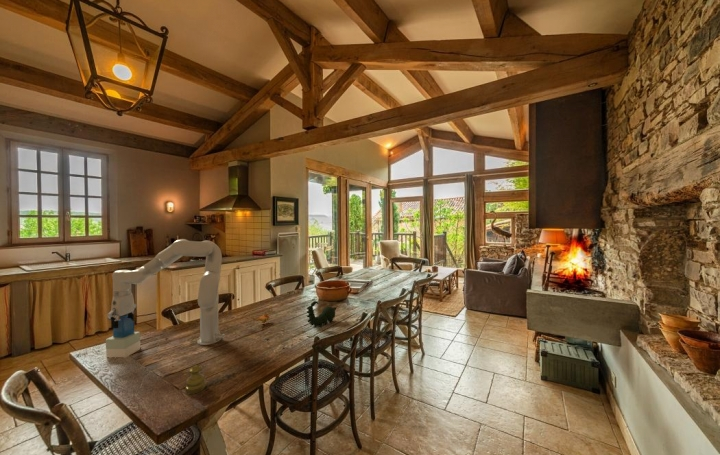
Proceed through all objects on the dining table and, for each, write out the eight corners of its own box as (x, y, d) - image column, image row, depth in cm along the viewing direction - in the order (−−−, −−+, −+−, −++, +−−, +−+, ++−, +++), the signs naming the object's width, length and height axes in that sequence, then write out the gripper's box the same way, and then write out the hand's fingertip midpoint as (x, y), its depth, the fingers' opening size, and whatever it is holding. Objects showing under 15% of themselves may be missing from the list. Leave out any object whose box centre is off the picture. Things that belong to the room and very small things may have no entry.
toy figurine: (314, 333, 182) (341, 320, 200) (312, 305, 180) (340, 294, 198) (305, 329, 188) (332, 316, 207) (303, 302, 187) (331, 292, 205)
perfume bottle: (123, 337, 147) (123, 315, 146) (113, 337, 148) (112, 314, 147) (134, 333, 153) (134, 311, 153) (124, 332, 154) (124, 311, 153)
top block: (140, 340, 155) (139, 331, 155) (125, 348, 145) (124, 339, 145) (122, 340, 155) (121, 331, 155) (105, 348, 145) (105, 339, 145)
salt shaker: (181, 392, 117) (181, 368, 116) (197, 382, 124) (197, 360, 123) (194, 396, 114) (193, 372, 114) (209, 386, 121) (209, 363, 121)
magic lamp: (248, 327, 187) (248, 311, 187) (269, 319, 202) (269, 304, 202) (254, 329, 183) (254, 313, 183) (275, 321, 199) (275, 305, 199)
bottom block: (140, 349, 155) (140, 340, 155) (125, 358, 145) (125, 348, 145) (122, 349, 155) (122, 340, 155) (106, 358, 145) (106, 348, 145)
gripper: (114, 297, 141) (115, 331, 141) (142, 289, 158) (142, 318, 158) (100, 297, 141) (100, 331, 141) (128, 289, 158) (129, 318, 159)
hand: (122, 324), depth 150 cm, fingers open, 9 cm apart
